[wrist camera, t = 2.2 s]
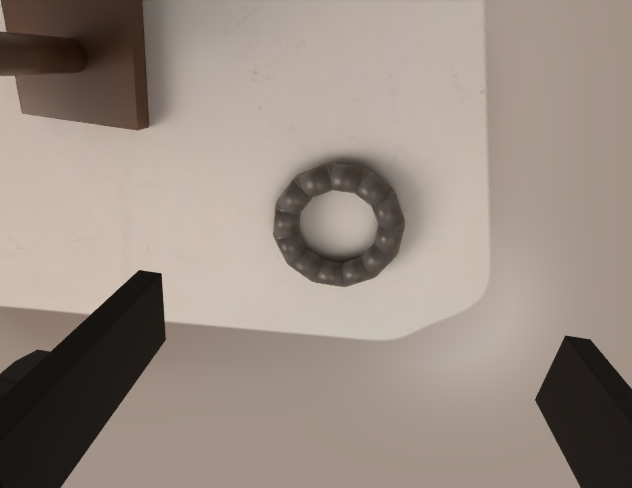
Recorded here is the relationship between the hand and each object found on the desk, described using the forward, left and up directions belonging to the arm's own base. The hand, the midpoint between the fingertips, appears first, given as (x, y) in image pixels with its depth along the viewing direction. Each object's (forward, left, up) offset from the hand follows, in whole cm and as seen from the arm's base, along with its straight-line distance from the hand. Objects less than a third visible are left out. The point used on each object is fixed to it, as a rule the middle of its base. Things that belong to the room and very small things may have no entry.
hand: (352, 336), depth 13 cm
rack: (-19, +6, -16) cm, 26 cm away
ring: (-1, -3, -15) cm, 16 cm away
